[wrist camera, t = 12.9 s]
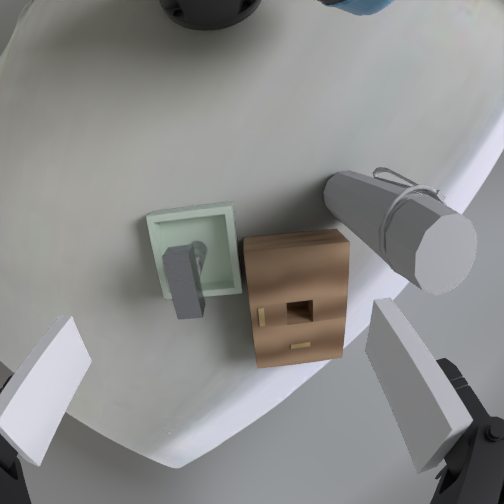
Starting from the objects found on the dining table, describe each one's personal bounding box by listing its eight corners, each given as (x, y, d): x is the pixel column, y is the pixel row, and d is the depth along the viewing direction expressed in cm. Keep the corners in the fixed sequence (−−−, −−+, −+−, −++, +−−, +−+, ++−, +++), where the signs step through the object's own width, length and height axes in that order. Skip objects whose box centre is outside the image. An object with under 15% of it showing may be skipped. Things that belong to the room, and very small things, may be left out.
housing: (243, 237, 43) (243, 252, 38) (336, 228, 43) (350, 242, 37) (255, 345, 50) (257, 369, 45) (333, 336, 50) (342, 358, 44)
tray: (152, 211, 42) (145, 216, 39) (232, 201, 41) (231, 205, 39) (168, 290, 46) (164, 299, 43) (242, 283, 46) (242, 293, 43)
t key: (192, 275, 45) (178, 319, 34) (182, 225, 42) (161, 256, 31) (211, 273, 45) (202, 317, 33) (202, 223, 42) (188, 253, 31)
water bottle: (349, 228, 43) (442, 315, 20) (310, 198, 42) (386, 269, 18) (383, 180, 41) (502, 227, 17) (345, 148, 39) (458, 162, 16)
